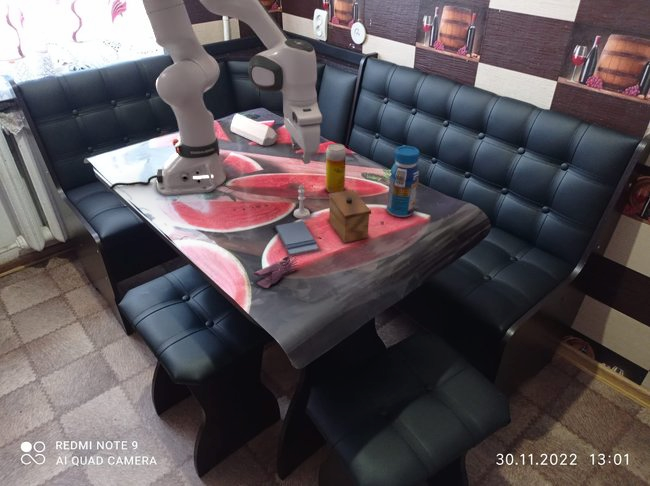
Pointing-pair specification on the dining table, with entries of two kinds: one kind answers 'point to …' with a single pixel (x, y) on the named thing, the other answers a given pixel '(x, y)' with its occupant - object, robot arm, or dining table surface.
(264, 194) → the dining table surface
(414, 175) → the beverage bottle
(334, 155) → the yellow cylinder
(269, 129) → the crystal
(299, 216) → the chess piece
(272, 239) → the dining table surface
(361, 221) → the bread box
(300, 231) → the grey flat slab
